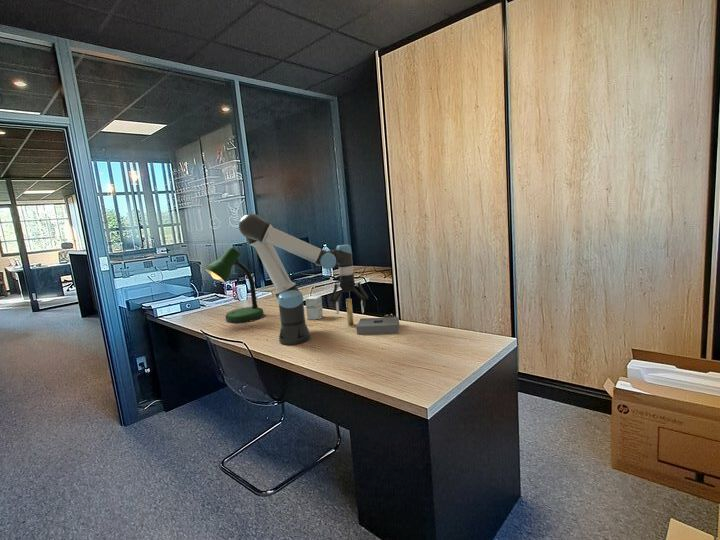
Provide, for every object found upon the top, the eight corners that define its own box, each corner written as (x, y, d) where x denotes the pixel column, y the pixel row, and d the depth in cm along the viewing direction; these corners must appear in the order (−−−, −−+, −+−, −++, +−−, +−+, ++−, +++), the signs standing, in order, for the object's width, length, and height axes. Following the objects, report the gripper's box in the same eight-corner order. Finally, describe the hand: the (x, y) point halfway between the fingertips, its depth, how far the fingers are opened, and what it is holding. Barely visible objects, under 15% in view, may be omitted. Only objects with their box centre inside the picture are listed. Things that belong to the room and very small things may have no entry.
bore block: (398, 333, 180) (397, 325, 179) (357, 334, 183) (356, 326, 182) (399, 324, 193) (398, 317, 193) (361, 325, 196) (360, 318, 196)
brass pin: (353, 325, 199) (350, 299, 197) (347, 325, 199) (345, 299, 197) (354, 323, 201) (351, 298, 199) (348, 323, 202) (346, 298, 200)
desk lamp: (221, 328, 213) (210, 250, 206) (207, 322, 230) (196, 249, 223) (270, 316, 233) (261, 244, 226) (253, 311, 250) (245, 244, 243)
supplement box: (306, 319, 217) (304, 298, 215) (312, 316, 224) (310, 295, 222) (318, 319, 215) (316, 298, 213) (323, 316, 222) (321, 295, 220)
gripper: (370, 271, 198) (374, 310, 201) (325, 274, 202) (329, 312, 205) (369, 273, 191) (372, 313, 194) (321, 277, 195) (326, 316, 198)
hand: (350, 313), depth 199 cm, fingers open, 13 cm apart
